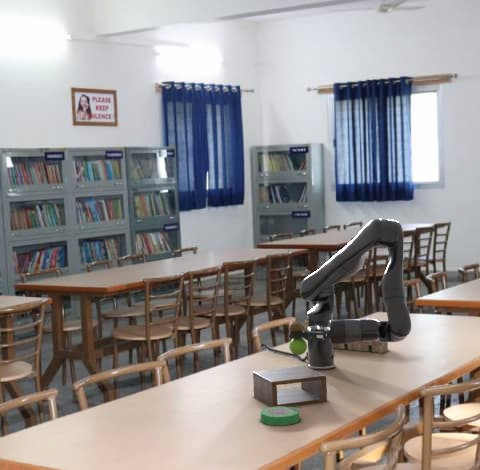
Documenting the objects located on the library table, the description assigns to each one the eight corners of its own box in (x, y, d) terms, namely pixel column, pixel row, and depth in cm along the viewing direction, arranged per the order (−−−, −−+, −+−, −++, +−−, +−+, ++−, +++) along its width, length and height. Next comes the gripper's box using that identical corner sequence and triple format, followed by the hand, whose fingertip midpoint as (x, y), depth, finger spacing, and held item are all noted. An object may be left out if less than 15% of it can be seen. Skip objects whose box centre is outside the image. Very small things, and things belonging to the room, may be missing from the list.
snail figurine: (311, 356, 289) (309, 317, 288) (290, 357, 290) (288, 318, 289) (309, 352, 295) (307, 314, 294) (289, 353, 295) (287, 316, 294)
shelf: (254, 396, 299) (252, 371, 299) (305, 390, 304) (304, 365, 303) (272, 408, 284) (271, 381, 283) (327, 401, 288) (326, 375, 288)
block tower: (391, 351, 361) (324, 343, 380) (391, 330, 360) (324, 322, 379) (381, 355, 355) (314, 346, 374) (381, 333, 354) (314, 325, 373)
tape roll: (289, 427, 263) (289, 417, 263) (254, 423, 269) (254, 414, 268) (305, 417, 272) (305, 408, 272) (271, 413, 278) (270, 404, 278)
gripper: (341, 316, 298) (286, 318, 299) (348, 323, 284) (290, 326, 285) (342, 339, 298) (287, 342, 299) (349, 347, 285) (292, 350, 285)
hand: (289, 334), depth 292 cm, fingers closed on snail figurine
